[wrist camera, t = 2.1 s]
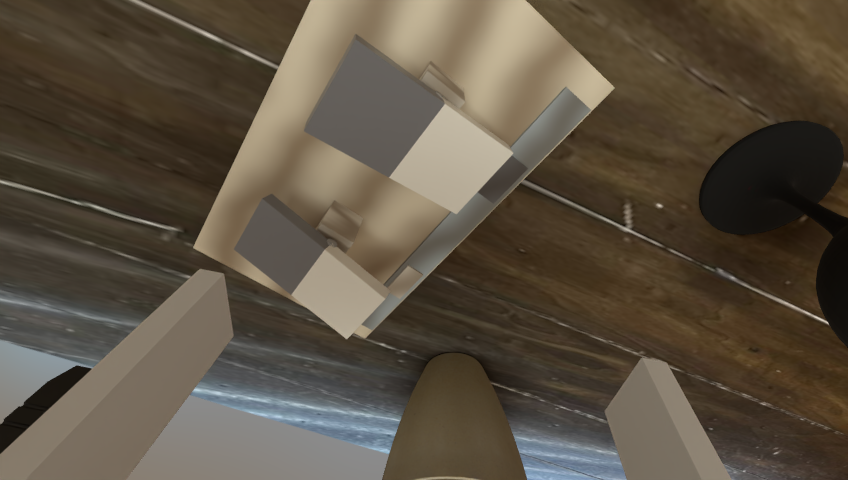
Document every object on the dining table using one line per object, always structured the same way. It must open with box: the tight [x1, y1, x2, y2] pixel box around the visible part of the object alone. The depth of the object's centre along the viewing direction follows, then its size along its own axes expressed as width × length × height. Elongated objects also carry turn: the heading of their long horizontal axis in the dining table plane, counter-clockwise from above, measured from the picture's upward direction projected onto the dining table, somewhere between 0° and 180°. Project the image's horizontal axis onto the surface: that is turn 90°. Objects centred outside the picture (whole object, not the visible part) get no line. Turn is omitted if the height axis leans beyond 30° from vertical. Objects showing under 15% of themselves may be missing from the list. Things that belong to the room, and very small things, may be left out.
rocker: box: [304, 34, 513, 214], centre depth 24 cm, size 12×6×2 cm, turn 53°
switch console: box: [193, 0, 614, 338], centre depth 31 cm, size 20×34×6 cm, turn 143°
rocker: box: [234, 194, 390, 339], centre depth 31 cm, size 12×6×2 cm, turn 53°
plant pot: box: [382, 353, 527, 480], centre depth 41 cm, size 15×15×16 cm
